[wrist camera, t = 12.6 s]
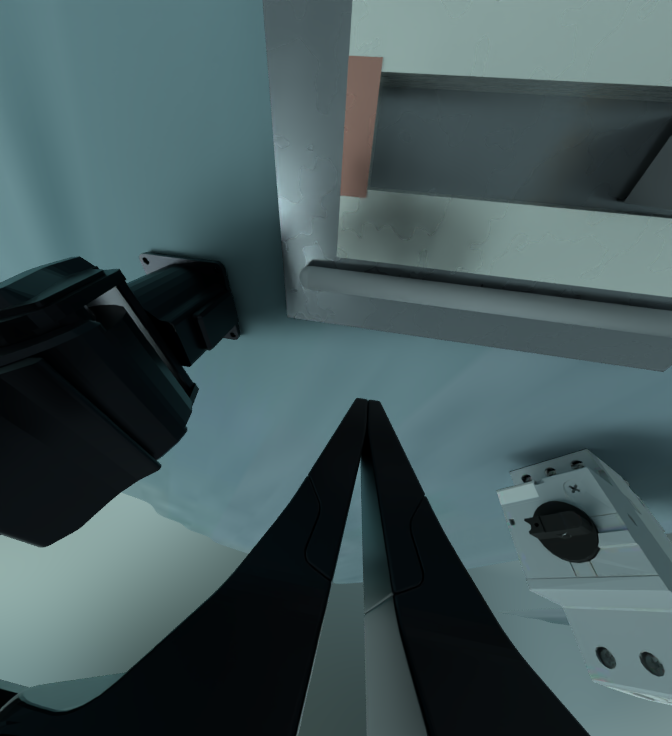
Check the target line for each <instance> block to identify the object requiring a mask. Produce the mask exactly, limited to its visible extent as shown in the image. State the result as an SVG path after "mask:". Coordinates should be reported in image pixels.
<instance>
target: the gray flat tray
mask: <svg viewBox="0 0 672 736" xmlns="http://www.w3.org/2000/svg"><path fill="white" fill-rule="evenodd" d="M299 280H300V283H301V284H302V286H303V287H305V288H307V289H311V290H318V291H326V292H333V293H341V294H348V295H356V296H363V297H371V298H378V299H386V300H393V301H401V302H408V303H416V304H423V305H431V306H438V307H446V308H453V309H461V310H468V311H475V312H483V313H490V314H498V315H505V316H513V317H520V318H528V319H535V320H543V321H550V322H558V323H565V324H573V325H580V326H588V327H595V328H603V329H610V330H618V331H625V332H633V333H640V334H647V335H655V336H662V337H670V338H672V311H668V310H660V309H652V308H644V307H636V306H628V305H620V304H612V303H604V302H596V301H588V300H580V299H572V298H564V297H556V296H548V295H540V294H532V293H524V292H516V291H508V290H500V289H492V288H484V287H476V286H468V285H460V284H452V283H444V282H436V281H428V280H420V279H412V278H404V277H396V276H388V275H380V274H372V273H364V272H356V271H348V270H340V269H332V268H324V267H316V266H306V267H304V268H303V269H302V270H301V272H300V275H299Z"/></svg>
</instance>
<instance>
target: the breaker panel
mask: <svg viewBox="0 0 672 736" xmlns="http://www.w3.org/2000/svg"><path fill="white" fill-rule="evenodd" d="M263 12H264V24H265V37H266V50H267V63H268V76H269V88H270V101H271V114H272V127H273V140H274V152H275V165H276V178H277V191H278V204H279V216H280V229H281V242H282V255H283V268H284V280H285V293H286V306H287V317H289V318H296V319H303V320H310V321H317V322H323V323H330V324H337V325H344V326H351V327H358V328H365V329H372V330H378V331H385V332H392V333H399V334H406V335H413V336H420V337H427V338H433V339H440V340H447V341H454V342H461V343H468V344H475V345H482V346H488V347H495V348H502V349H509V350H516V351H523V352H530V353H537V354H543V355H550V356H557V357H564V358H571V359H578V360H585V361H592V362H599V363H605V364H612V365H619V366H626V367H633V368H640V369H647V370H654V371H660V372H664V371H665V370H666V369H668V368H669V367H670V366H671V365H672V338H670V337H662V336H655V335H647V334H640V333H633V332H625V331H618V330H610V329H603V328H595V327H588V326H580V325H573V324H565V323H558V322H550V321H543V320H535V319H528V318H520V317H513V316H505V315H498V314H490V313H483V312H475V311H468V310H461V309H453V308H446V307H438V306H431V305H423V304H416V303H408V302H401V301H393V300H386V299H378V298H371V297H363V296H356V295H348V294H341V293H333V292H326V291H318V290H311V289H307V288H305V287H303V286H302V284H301V283H300V280H299V275H300V272H301V270H302V269H303V268H304V267H306V266H316V267H324V268H332V269H340V270H348V271H356V272H364V273H372V274H380V275H388V276H396V277H404V278H412V279H420V280H428V281H436V282H444V283H452V284H460V285H468V286H476V287H484V288H492V289H500V290H508V291H516V292H524V293H532V294H540V295H548V296H556V297H564V298H572V299H580V300H588V301H596V302H604V303H612V304H620V305H628V306H636V307H644V308H652V309H660V310H668V311H672V210H667V209H661V208H654V207H648V206H641V205H635V204H628V203H624V201H625V200H626V198H627V197H628V196H629V194H630V193H631V191H632V190H633V189H634V187H635V186H636V184H637V183H638V181H639V180H640V179H641V177H642V176H643V174H644V173H645V172H646V170H647V169H648V167H649V166H650V165H651V163H652V162H653V160H654V159H655V157H656V156H657V155H658V153H659V152H660V150H661V149H662V148H663V146H664V145H665V143H666V142H667V141H668V139H669V138H670V136H671V135H672V0H263Z"/></svg>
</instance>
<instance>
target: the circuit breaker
mask: <svg viewBox="0 0 672 736" xmlns="http://www.w3.org/2000/svg"><path fill="white" fill-rule="evenodd" d="M577 461H581V462H582V463H578V464H575V465H573V464H572V463H573V462H577ZM552 468H553V469H555V470H554V471H553V470H552V471H548V469H552ZM510 475H511V477H512V480H513V483H514V485H515V486H511V487H507V488H503V489H499V490H497V494H498V497H499V500H500V503H501V506H502V509H503V512H504V515H505V518H506V521H507V524H508V527H509V530H510V533H511V536H512V539H513V542H514V545H515V548H516V551H517V554H518V557H519V560H520V563H521V566H522V569H523V572H524V575H525V578H526V581H527V584H528V587H529V590H530V591H531V592H534V593H535V594H538V595H540V596H542V597H544V598H546V599H548V600H550V601H552V602H555V603H557V604H559V605H561V606H562V607H563V609H564V612H565V614H566V617H567V619H568V622H569V624H570V627H571V629H572V632H573V634H574V637H575V639H576V642H577V644H578V647H579V650H580V652H581V654H582V657H583V660H584V662H585V664H586V667H587V670H588V672H589V675H590V677H591V680H592V681H593V682H595V683H597V684H601V685H603V686H606V687H609V688H612V689H615V690H618V691H621V692H624V693H627V694H630V695H633V696H636V697H639V698H643V699H645V700H649V701H654V702H659V703H663V704H669V705H672V542H671V541H670V540H669V538H668V537H667V536H666V534H665V533H664V532H665V531H664V529H663V528H662V527H661V525H660V524H659V523H658V521H657V520H656V519H655V517H654V516H653V515H652V513H651V512H650V511H649V510H648V508H647V507H646V506H645V504H644V503H643V502H642V500H641V499H640V498H639V497H638V496H637V495H636V494H635V493H633V492H632V490H631V489H630V488H629V485H630V484H629V483H628V482H627V481H626V480H623V478H622V477H621V476H620V475H619V474H617V473H616V472H615V471H614V470H612V469H611V468H610V467H609V466H608V465H606V464H605V463H604V462H603V461H601V460H600V459H599V458H598V457H597V456H595V455H594V454H593V453H592V452H590V451H589V450H588V449H585V450H581V451H578V452H575V453H571V454H568V455H565V456H561V457H558V458H554V459H551V460H548V461H544V462H541V463H538V464H534V465H531V466H528V467H524V468H521V469H518V470H514V471H511V472H510ZM527 475H530V476H531V477H526V476H527Z"/></svg>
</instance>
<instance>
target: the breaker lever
mask: <svg viewBox="0 0 672 736" xmlns="http://www.w3.org/2000/svg"><path fill="white" fill-rule="evenodd" d="M624 203H628V204H635V205H641V206H648V207H654V208H661V209H667V210H672V135H671V136H670V138H669V139H668V141H667V142H666V143H665V145H664V146H663V148H662V149H661V150H660V152H659V153H658V155H657V156H656V157H655V159H654V160H653V162H652V163H651V165H650V166H649V167H648V169H647V170H646V172H645V173H644V174H643V176H642V177H641V179H640V180H639V181H638V183H637V184H636V186H635V187H634V189H633V190H632V191H631V193H630V194H629V196H628V197H627V198H626V200H625V201H624Z"/></svg>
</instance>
